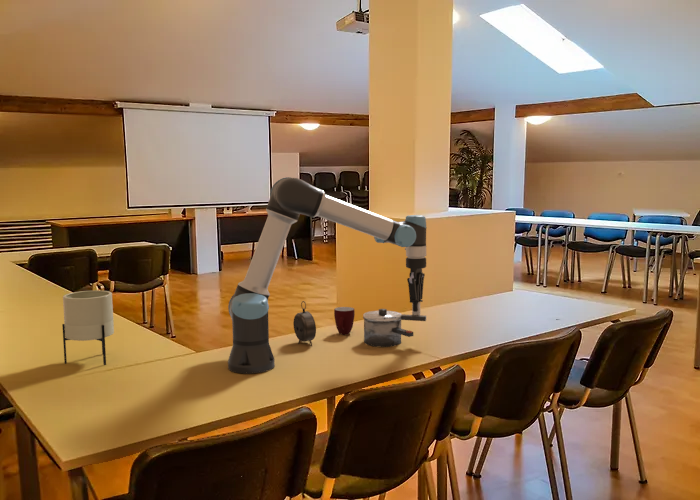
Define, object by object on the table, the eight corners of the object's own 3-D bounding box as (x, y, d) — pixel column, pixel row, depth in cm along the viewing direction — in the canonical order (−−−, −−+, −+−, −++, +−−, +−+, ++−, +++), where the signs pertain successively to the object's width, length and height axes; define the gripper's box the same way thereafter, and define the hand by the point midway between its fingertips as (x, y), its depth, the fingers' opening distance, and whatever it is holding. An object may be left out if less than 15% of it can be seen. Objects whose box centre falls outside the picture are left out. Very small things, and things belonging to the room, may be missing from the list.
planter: (65, 357, 212) (61, 292, 209) (114, 352, 218) (111, 288, 216) (63, 370, 198) (59, 300, 196) (116, 364, 204) (112, 296, 202)
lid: (423, 325, 219) (423, 316, 219) (359, 321, 225) (359, 312, 224) (428, 316, 233) (428, 307, 233) (368, 313, 239) (368, 304, 238)
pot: (396, 354, 214) (396, 329, 213) (356, 340, 233) (356, 317, 232) (425, 348, 222) (425, 324, 221) (385, 335, 241) (385, 312, 240)
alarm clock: (317, 346, 226) (316, 302, 224) (304, 348, 223) (303, 304, 221) (303, 339, 235) (303, 297, 233) (291, 341, 233) (290, 299, 231)
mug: (352, 338, 237) (352, 312, 236) (332, 337, 238) (332, 312, 237) (355, 331, 247) (355, 307, 246) (335, 330, 248) (335, 306, 247)
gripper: (412, 254, 233) (412, 314, 236) (400, 258, 222) (400, 322, 225) (431, 255, 230) (431, 316, 233) (420, 259, 218) (420, 324, 221)
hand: (416, 319), depth 229 cm, fingers closed
